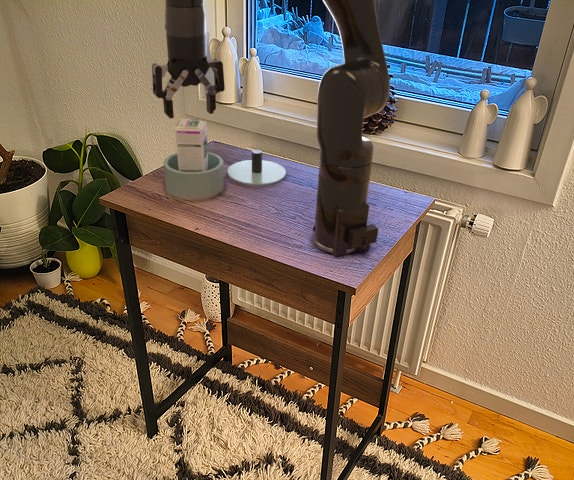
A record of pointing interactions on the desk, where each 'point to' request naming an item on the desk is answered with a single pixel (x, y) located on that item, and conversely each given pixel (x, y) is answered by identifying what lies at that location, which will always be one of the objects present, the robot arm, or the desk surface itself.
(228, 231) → the desk surface
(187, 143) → the syrup box
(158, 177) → the desk surface
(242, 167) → the lid
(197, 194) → the pot
